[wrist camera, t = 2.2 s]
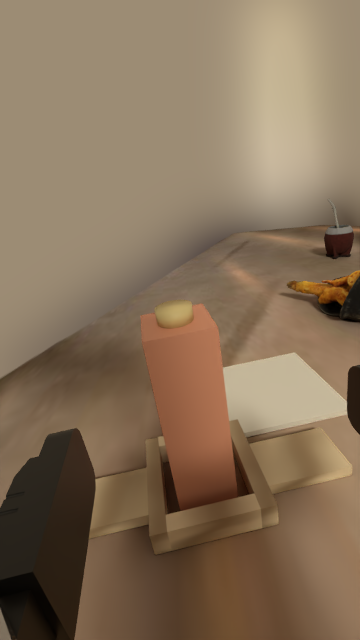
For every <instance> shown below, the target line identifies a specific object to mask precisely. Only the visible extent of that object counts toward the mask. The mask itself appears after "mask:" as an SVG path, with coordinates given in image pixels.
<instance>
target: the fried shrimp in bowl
mask: <svg viewBox="0 0 360 640" xmlns="http://www.w3.org/2000/svg"><path fill="white" fill-rule="evenodd" d="M322 282H324V283H328V284H321V283H314V282H307V281H302V282H301V281H299V282H296V281H291V282H289V283H287V286H288V288H290V289H293V290H295V291H296V292H302V293H306V294H315V295H317V296H318V305H319V308H320V309H321V311H322V312H324V313H326V314H328V315H335V316H340V318H341V319H345V318H349V319H352V320H357V321H360V271H356V272H354V273H352V274H351V275H348V276H344V277H340V278H337V279H334V280H332V281H331V280H325V281H322Z"/></svg>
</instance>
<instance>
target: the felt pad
mask: <svg viewBox="0 0 360 640" xmlns="http://www.w3.org/2000/svg"><path fill="white" fill-rule="evenodd" d="M223 374H224V383H225V391H226V399H227V408H228V416H229V421H232V420H236V419H238V421H239V423H240V426H241V428H242V430H243V432H244V434H245V436H246V437H250V436H255V435H259V434H264V433H268V432H272V431H277V430H281V429H286V428H290V427H294V426H299V425H303V424H307V423H312V422H316V421H321V420H325V419H329V418H334V417H338V416H343V415H347V401H346V400H345V399H343V398H342V397H341V396H340V395H339V394H338V393H337V392H336V391H335V390H334V389H333V388H332V387H331V386H330V385H329V384H328V383H327V382H325V381H324V380H323V379H322V378H321V377H320V376H319V375H318V374H317V373H316V372H315V371H314V370H313V369H312V368H311V367H310V366H309V365H307V364H306V363H305V362H304V361H303V360H302V359H301V358H300V357H299V356H298V355H297V354H296V353H290V354H285V355H281V356H276V357H271V358H267V359H262V360H257V361H252V362H248V363H243V364H238V365H233V366H229V367H224V368H223Z"/></svg>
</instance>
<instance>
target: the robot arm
mask: <svg viewBox="0 0 360 640" xmlns="http://www.w3.org/2000/svg"><path fill="white" fill-rule="evenodd" d="M347 414H348V418H349V420H350V422H351V424H352V426H353V428H354V429H355V430H356V431H357V432H358V433H359V434H360V365H357V366H353V367H351V368H350V369H349V372H348V391H347ZM95 491H96V481H95V474H94V469H93V466H92V463H91V461H90V458H89V455H88V452H87V450H86V447H85V444H84V441H83V439H82V436H81V433H80V431H79V430H78V429H77V428H75V429H70V430H66V431H61V432H57V433H53V434H49V435H48V436H47V437H46V439H45V442H44V444H43V447H42V450H41V452H40V455H39V457H34V458H30V459H29V460H28V461H27V463H26V464H25V465H24V466H23V467H22V468H21V470H20V471H19V472H18V473H17V474H16V476H15V477H14V479H13V481H12V484H11V486H10V488H9V490H8V492H7V495H6V500H4V501H3V504H2V506H1V508H0V640H74V637H75V630H76V623H77V616H78V610H79V603H80V596H81V589H82V582H83V575H84V568H85V561H86V554H87V547H88V540H89V533H90V526H91V519H92V513H93V506H94V499H95Z"/></svg>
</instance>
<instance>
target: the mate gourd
mask: <svg viewBox="0 0 360 640" xmlns="http://www.w3.org/2000/svg"><path fill="white" fill-rule="evenodd" d="M328 201H329V202H330V204H331V205H332V209H333V211H334V217H335V222H336V226H332V227H329V228H328V229H327V231H326V232H325V237H324V241H325V247H326V251H327V254H326V256H330V257H333V259H336V258H338V257H350V256H351V254H350V251H351V248H352V244H353V239H354V234H353V229H352V228H351V227H350V226H349V225H338V220H337V215H336V207H335V206H334V204H333V203H332V202H331V200H330V199H328Z"/></svg>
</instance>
